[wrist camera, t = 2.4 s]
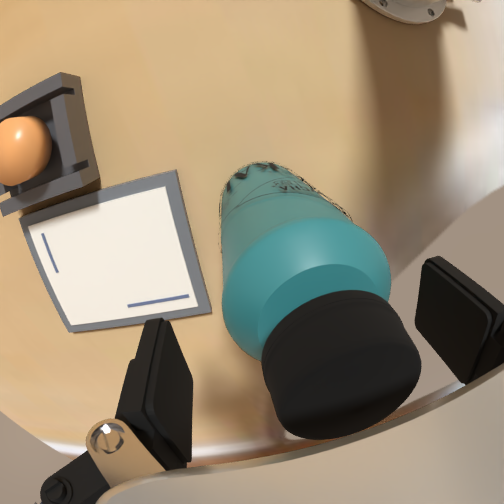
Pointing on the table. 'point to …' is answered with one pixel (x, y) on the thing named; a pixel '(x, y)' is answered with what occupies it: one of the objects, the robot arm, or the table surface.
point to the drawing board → (119, 255)
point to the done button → (23, 149)
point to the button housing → (54, 141)
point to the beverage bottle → (312, 305)
